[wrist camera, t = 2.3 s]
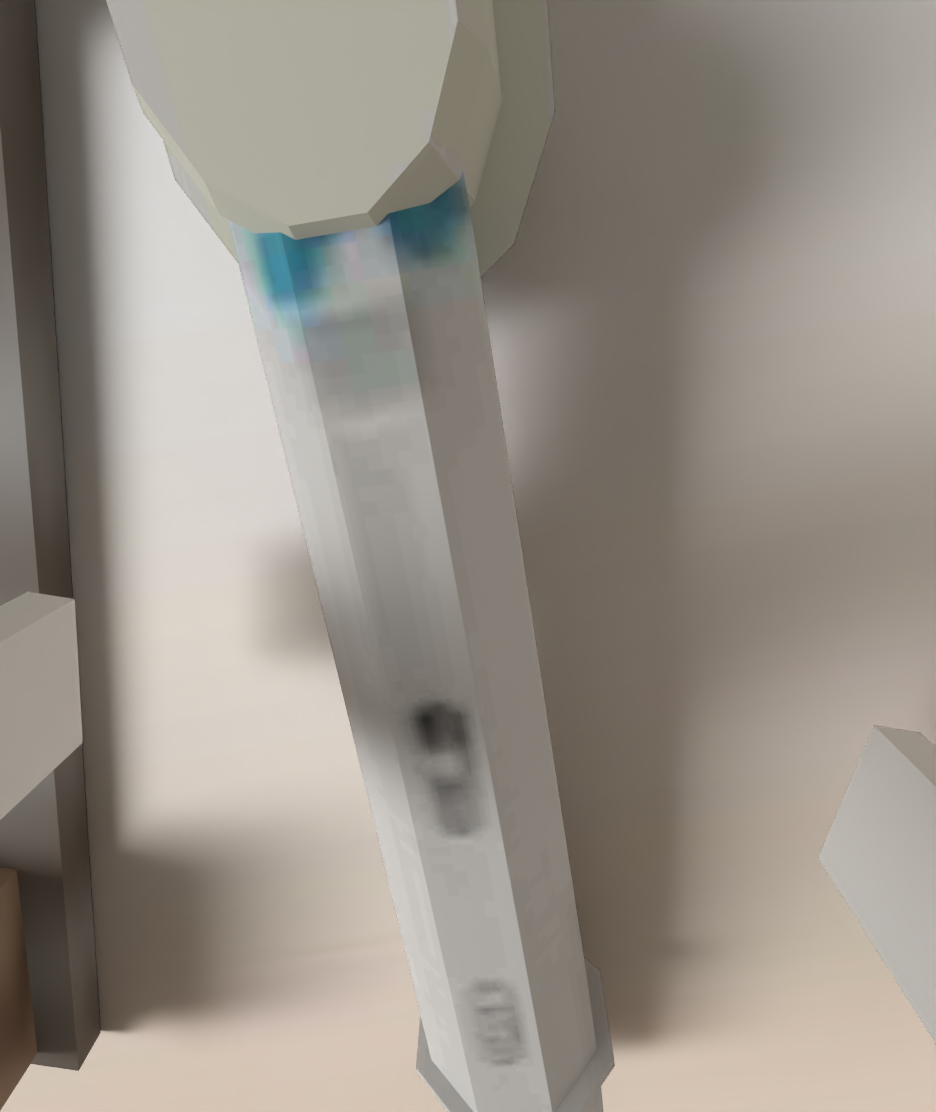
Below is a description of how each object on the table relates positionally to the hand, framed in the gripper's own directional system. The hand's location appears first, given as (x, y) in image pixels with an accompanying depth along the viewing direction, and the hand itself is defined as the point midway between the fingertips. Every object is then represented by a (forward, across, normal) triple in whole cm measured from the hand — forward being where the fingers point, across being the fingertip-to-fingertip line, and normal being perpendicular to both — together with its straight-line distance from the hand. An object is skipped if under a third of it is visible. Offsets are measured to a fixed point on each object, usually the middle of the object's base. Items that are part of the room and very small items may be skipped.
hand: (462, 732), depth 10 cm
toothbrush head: (+4, 0, 0) cm, 4 cm away
